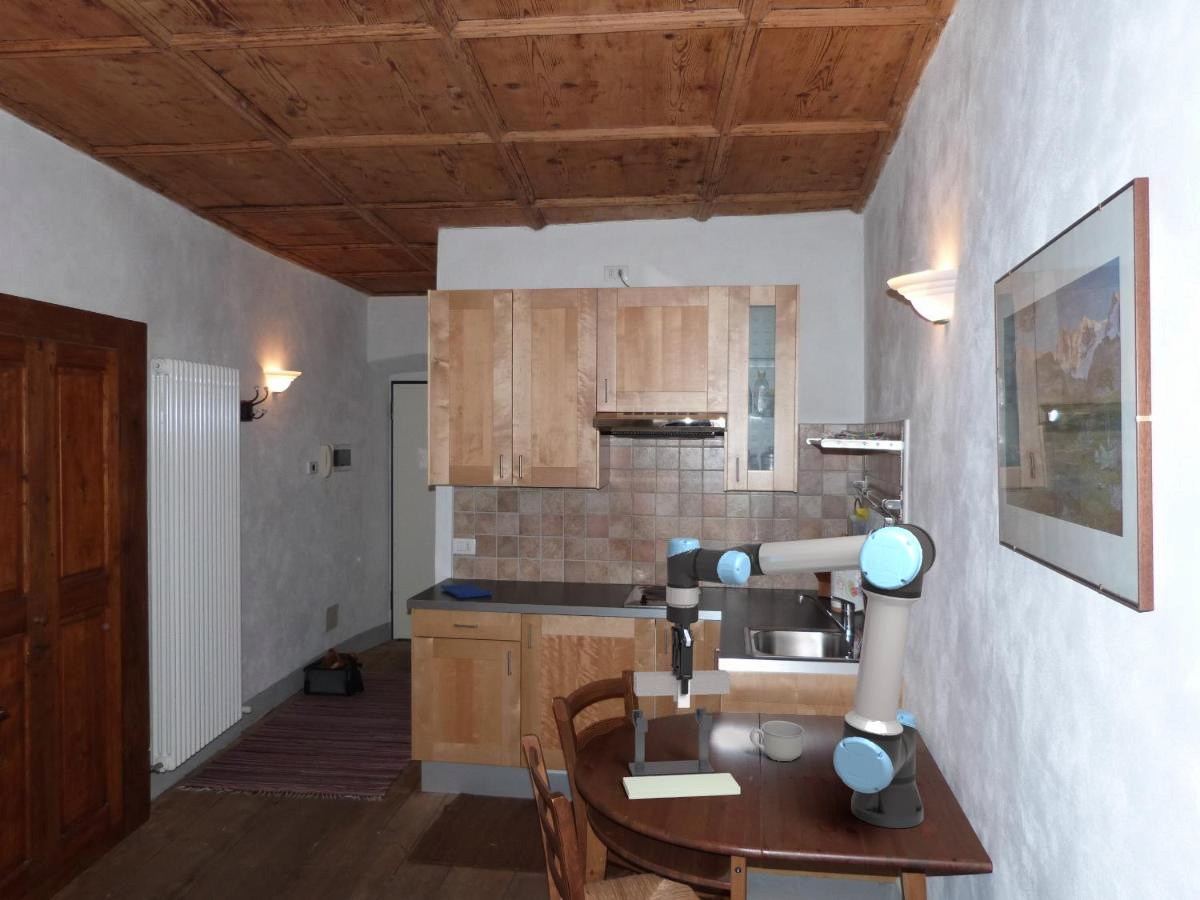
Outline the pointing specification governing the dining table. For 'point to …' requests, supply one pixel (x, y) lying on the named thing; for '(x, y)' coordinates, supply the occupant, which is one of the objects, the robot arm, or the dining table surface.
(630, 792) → the board
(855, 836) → the dining table surface
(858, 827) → the dining table surface
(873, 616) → the robot arm
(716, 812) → the dining table surface
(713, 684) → the rail bar
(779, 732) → the teacup
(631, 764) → the hook stand
